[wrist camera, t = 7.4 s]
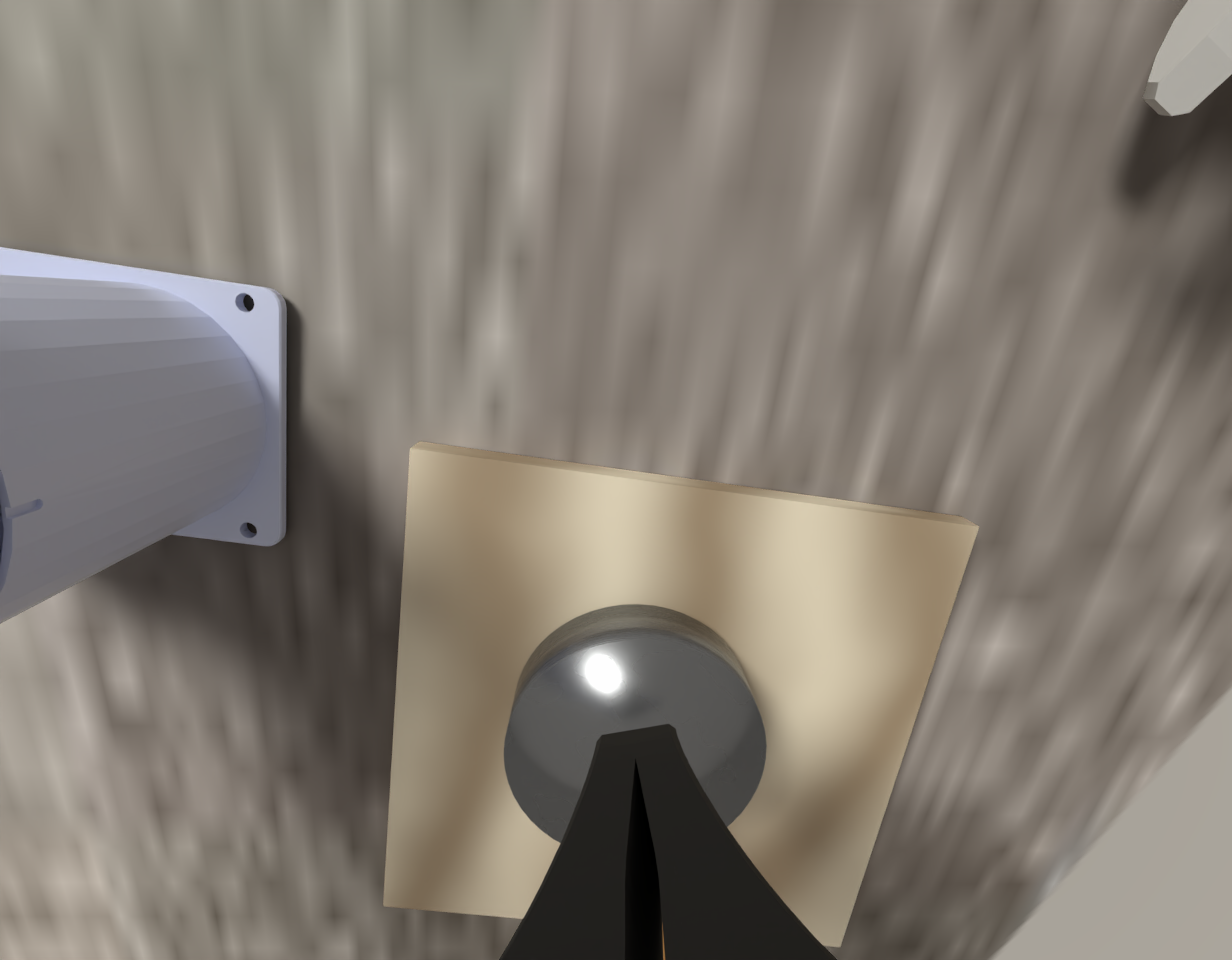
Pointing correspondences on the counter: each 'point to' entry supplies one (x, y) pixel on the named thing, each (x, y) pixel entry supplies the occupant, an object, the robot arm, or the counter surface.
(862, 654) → the panel
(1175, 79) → the wrench
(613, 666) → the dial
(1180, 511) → the counter surface
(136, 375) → the robot arm
